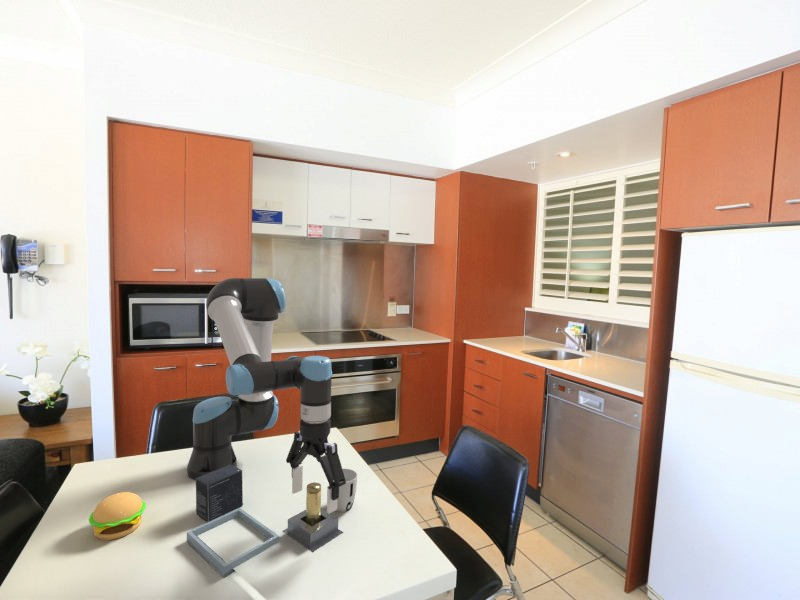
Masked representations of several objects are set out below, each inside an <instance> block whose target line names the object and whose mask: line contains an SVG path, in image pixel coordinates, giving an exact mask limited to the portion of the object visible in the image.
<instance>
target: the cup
mask: <svg viewBox="0 0 800 600" xmlns="http://www.w3.org/2000/svg"><path fill="white" fill-rule="evenodd" d="M342 470H343V473H344V477H345V480H346V484H344V485H342V486H340V487H339V498H338V499H337V510H335V511H336V512H341V513H342V512H343V513H344V512H348V511H349V510H351V509H353V505H354V503H355V497H356V493H357V485H358V472H357V471H356V470H354V469H351V468H342ZM333 482H334V480H333ZM328 486H330V485H329V484H328Z"/></svg>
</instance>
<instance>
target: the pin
mask: <svg viewBox="0 0 800 600" xmlns="http://www.w3.org/2000/svg"><path fill="white" fill-rule="evenodd" d="M305 499H306V501H305V502H306V506H305V507H306V508H305V510H306V523H307V524H309V525H310V526H314V525H316V524H317V523H319V522H320V517H321V508H322V507H321V506H322V504H321V503H322V484H321V483H319V482H310V483H308V484H307V485H306V498H305Z"/></svg>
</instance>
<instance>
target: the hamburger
mask: <svg viewBox="0 0 800 600" xmlns="http://www.w3.org/2000/svg"><path fill="white" fill-rule="evenodd" d="M146 509H147V504H146V502H144V501H143V500H142V498H141V497H140V495H138V494H136V493H134V492H130V491H121V492H116V493H113V494H110V495H108V496H106V497H105V498H103V499H102V500H101V501H100V502H98V504H97V505H96V506H95V508H94V509H93V512H91V513H90V515H89V518H88V522H89V524H90V525H91V526H93V527H94V528H93V534H94V536H95V537H96V538H97V539H99V540H103V541H108V540H115V539H120V538H124V537H126V536H128V535H129V534H131V533H133V532H134V531H135V530H137V529H138V528H139V527H140V525H141V523H142V521H143V517H142V514H143V512H144V511H145V510H146Z"/></svg>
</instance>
